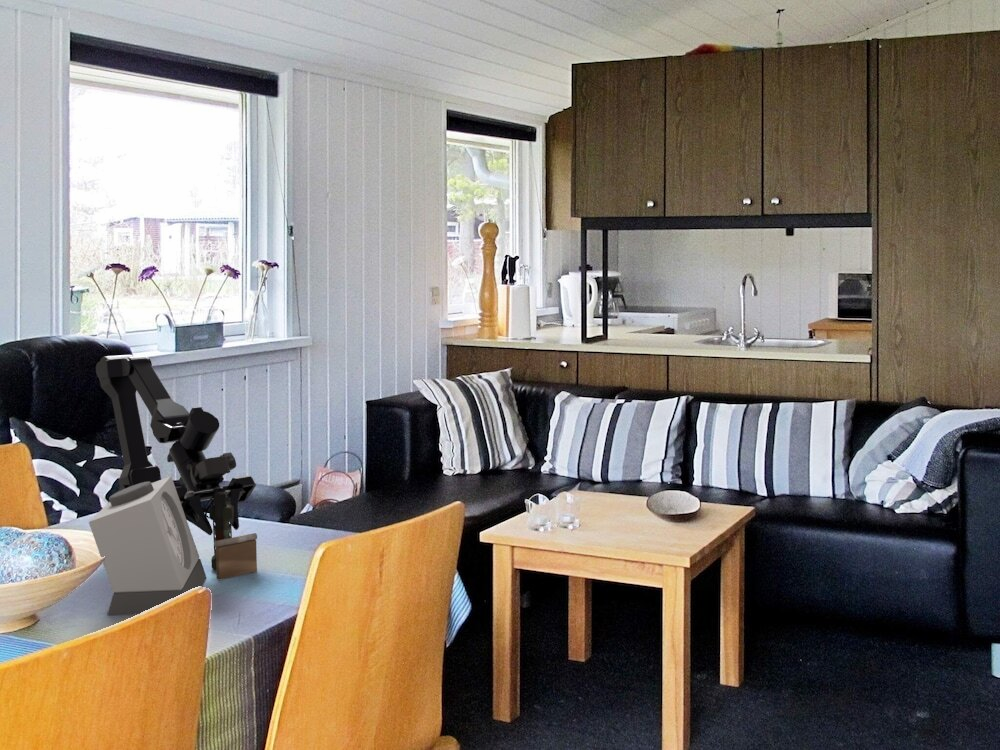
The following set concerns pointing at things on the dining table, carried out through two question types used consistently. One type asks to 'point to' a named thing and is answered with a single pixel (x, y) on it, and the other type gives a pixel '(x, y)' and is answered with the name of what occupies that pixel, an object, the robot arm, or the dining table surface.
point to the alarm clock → (146, 547)
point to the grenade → (220, 518)
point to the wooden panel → (236, 556)
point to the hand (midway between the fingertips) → (224, 531)
